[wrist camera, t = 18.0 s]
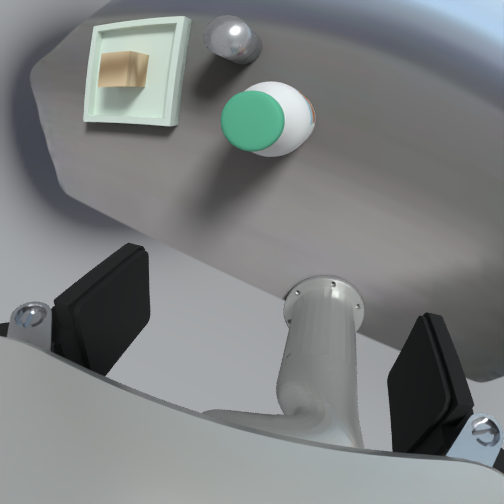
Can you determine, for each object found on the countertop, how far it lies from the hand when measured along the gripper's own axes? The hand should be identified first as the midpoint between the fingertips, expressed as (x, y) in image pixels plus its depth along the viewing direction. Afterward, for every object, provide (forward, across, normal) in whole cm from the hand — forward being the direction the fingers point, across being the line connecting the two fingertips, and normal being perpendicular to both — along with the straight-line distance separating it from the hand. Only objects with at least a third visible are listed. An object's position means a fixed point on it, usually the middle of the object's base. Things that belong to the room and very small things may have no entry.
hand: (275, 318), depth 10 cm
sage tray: (+34, +28, -10) cm, 45 cm away
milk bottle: (+34, +5, -5) cm, 35 cm away
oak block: (+33, +28, -10) cm, 45 cm away
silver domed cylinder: (+34, +12, -14) cm, 39 cm away
